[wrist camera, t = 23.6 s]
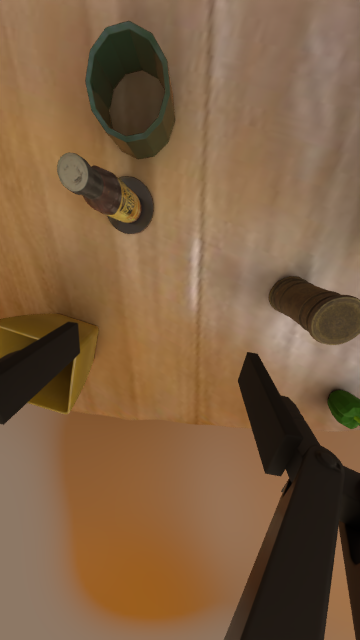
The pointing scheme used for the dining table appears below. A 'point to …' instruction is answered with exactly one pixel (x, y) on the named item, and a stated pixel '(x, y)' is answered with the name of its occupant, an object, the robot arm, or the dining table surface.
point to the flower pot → (70, 381)
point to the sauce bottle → (99, 188)
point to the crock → (111, 66)
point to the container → (317, 310)
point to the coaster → (146, 208)
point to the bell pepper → (345, 408)
